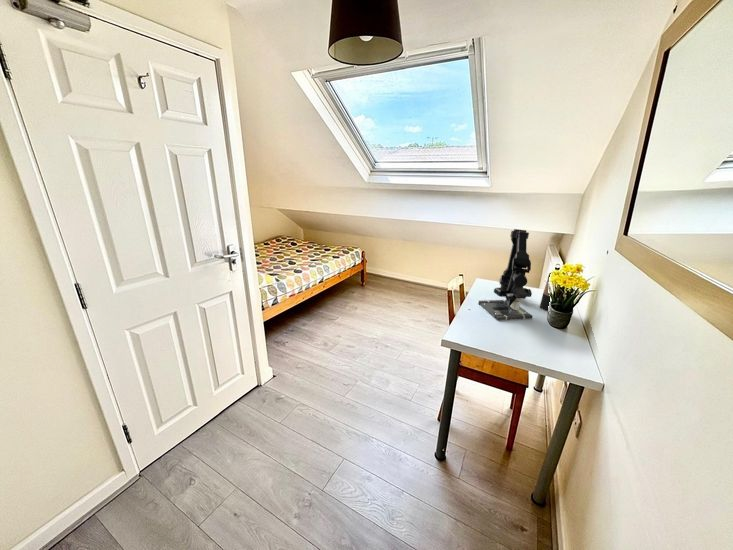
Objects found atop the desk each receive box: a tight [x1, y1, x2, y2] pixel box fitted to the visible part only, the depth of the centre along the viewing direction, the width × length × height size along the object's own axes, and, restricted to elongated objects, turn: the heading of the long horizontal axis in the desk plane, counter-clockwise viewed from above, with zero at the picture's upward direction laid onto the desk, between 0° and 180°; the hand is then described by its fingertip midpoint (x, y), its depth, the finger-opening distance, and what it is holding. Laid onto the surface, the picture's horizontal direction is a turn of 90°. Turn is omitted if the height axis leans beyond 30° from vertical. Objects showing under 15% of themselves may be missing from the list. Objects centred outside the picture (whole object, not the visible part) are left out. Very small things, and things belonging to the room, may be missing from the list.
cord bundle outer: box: [494, 313, 534, 321], centre depth 152 cm, size 2×20×2 cm, turn 100°
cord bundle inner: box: [477, 299, 507, 306], centre depth 167 cm, size 2×20×2 cm, turn 99°
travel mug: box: [539, 272, 552, 312], centre depth 162 cm, size 8×8×20 cm
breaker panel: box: [479, 302, 531, 319], centre depth 159 cm, size 14×20×2 cm
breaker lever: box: [510, 299, 521, 310], centre depth 159 cm, size 5×2×5 cm, turn 10°
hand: (508, 306), depth 159 cm, fingers closed
